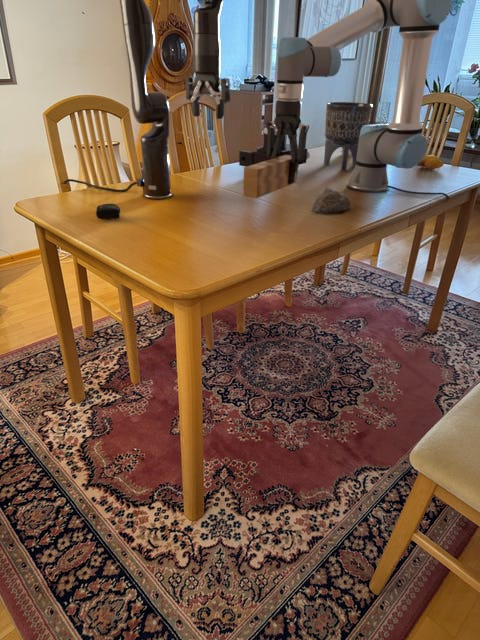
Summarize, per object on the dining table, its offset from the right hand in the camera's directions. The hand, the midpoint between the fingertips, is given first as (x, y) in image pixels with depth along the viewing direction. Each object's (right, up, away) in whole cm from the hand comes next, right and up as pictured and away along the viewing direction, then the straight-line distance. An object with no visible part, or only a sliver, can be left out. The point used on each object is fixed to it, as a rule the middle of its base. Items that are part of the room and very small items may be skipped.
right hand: (283, 181), depth 143 cm
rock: (+17, -7, +8) cm, 20 cm away
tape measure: (-53, -13, -5) cm, 55 cm away
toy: (+74, +28, +70) cm, 105 cm away
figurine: (+43, +43, +95) cm, 113 cm away
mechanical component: (+4, +20, +54) cm, 57 cm away
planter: (+33, +28, +68) cm, 80 cm away
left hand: (-23, +16, -9) cm, 30 cm away
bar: (-4, -4, -5) cm, 8 cm away
